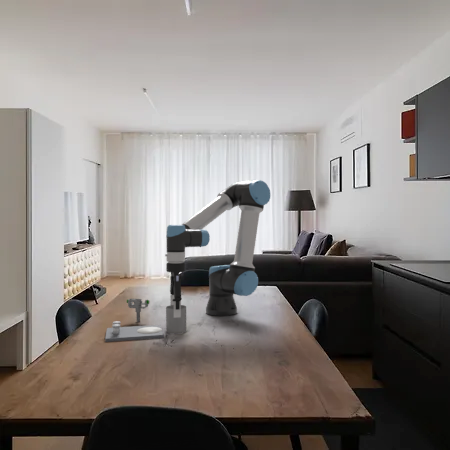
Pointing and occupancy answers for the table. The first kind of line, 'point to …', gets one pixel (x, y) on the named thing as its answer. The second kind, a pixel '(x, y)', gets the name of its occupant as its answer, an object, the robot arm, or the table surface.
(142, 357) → the table surface
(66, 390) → the table surface
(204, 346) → the table surface
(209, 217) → the robot arm
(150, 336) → the board
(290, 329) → the table surface
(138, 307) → the mechanical component
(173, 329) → the cup
